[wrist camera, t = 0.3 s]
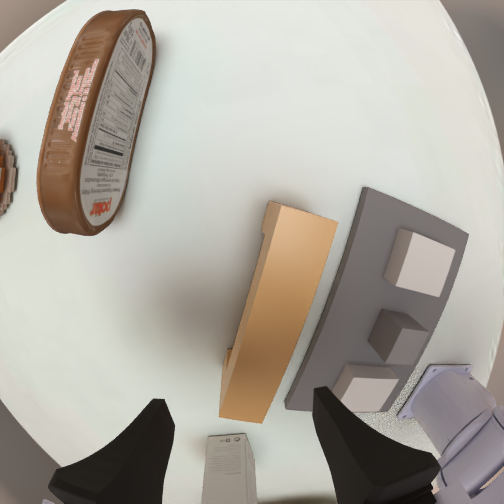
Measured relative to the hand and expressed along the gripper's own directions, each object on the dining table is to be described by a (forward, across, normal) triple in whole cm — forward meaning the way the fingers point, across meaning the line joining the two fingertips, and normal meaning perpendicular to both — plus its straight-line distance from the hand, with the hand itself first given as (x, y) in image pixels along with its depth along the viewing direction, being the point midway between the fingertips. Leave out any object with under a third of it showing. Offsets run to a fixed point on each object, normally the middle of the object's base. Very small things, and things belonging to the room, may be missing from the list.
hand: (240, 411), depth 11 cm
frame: (+10, -2, -2) cm, 10 cm away
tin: (+10, +7, -16) cm, 20 cm away
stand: (+10, -12, +2) cm, 16 cm away
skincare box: (+10, +3, +17) cm, 19 cm away
